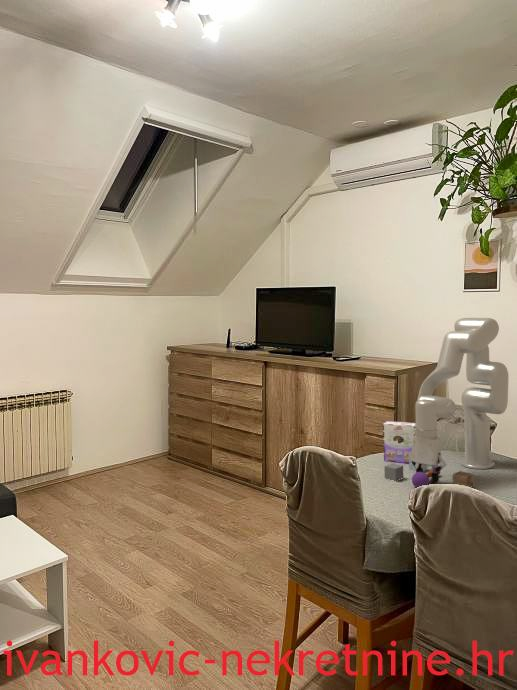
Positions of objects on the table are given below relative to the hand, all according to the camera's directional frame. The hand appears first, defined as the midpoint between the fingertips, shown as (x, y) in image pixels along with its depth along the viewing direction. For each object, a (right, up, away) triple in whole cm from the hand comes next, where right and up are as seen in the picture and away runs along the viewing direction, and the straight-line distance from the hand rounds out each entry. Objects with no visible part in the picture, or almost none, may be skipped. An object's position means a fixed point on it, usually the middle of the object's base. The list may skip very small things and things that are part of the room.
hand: (427, 480), depth 207 cm
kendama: (0, -1, +1) cm, 1 cm away
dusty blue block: (+1, 0, +16) cm, 16 cm away
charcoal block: (-11, -1, +7) cm, 13 cm away
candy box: (-2, +1, +29) cm, 29 cm away
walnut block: (+11, -1, -6) cm, 13 cm away
